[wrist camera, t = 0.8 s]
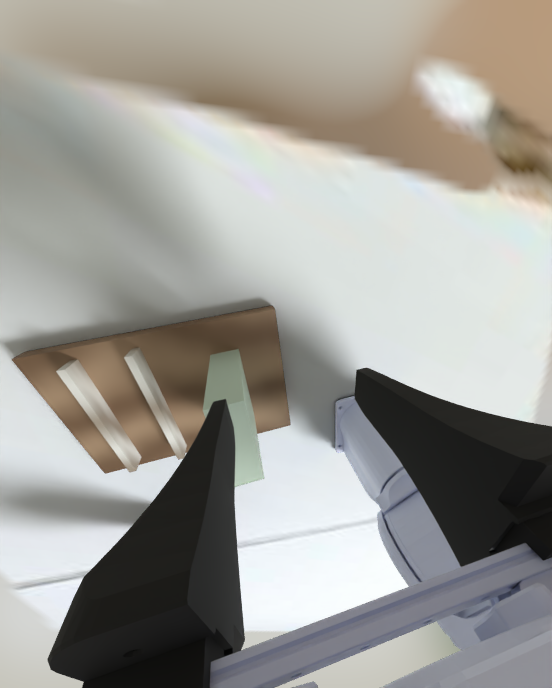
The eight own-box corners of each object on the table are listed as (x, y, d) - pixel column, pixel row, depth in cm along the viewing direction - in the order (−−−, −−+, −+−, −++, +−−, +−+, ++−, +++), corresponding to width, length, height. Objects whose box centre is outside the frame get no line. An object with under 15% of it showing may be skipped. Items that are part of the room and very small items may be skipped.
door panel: (254, 414, 23) (264, 478, 17) (230, 419, 22) (232, 487, 16) (238, 349, 19) (244, 400, 13) (210, 354, 19) (202, 410, 13)
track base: (287, 417, 26) (294, 435, 23) (110, 463, 23) (97, 488, 21) (272, 305, 19) (278, 314, 17) (25, 351, 17) (-9, 370, 14)
